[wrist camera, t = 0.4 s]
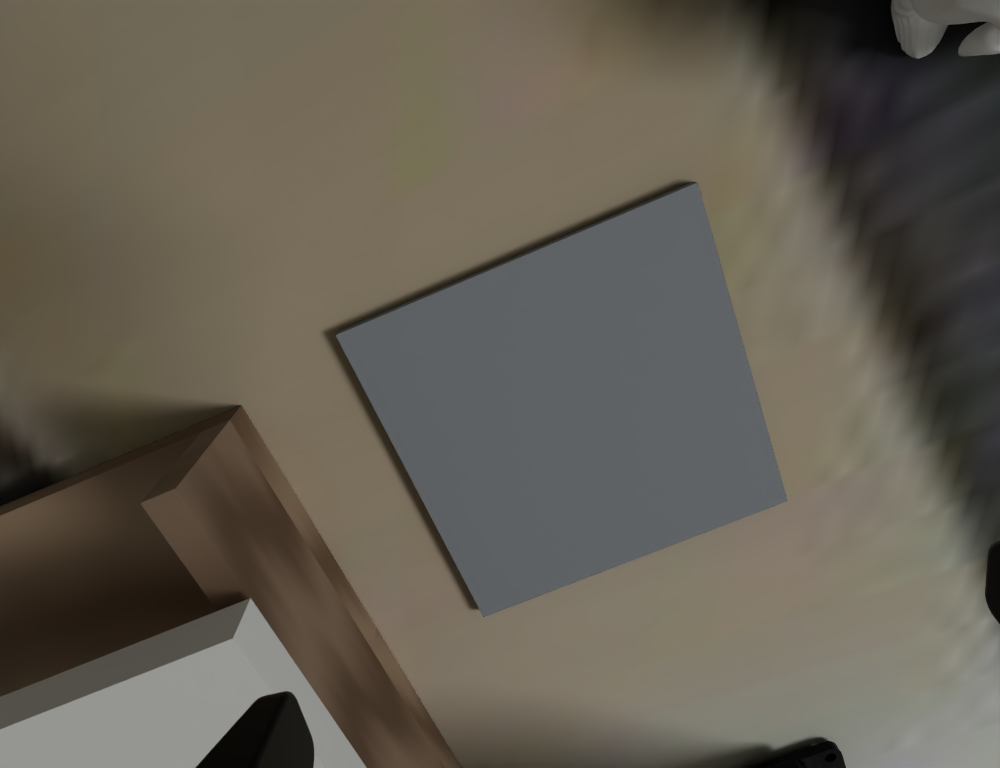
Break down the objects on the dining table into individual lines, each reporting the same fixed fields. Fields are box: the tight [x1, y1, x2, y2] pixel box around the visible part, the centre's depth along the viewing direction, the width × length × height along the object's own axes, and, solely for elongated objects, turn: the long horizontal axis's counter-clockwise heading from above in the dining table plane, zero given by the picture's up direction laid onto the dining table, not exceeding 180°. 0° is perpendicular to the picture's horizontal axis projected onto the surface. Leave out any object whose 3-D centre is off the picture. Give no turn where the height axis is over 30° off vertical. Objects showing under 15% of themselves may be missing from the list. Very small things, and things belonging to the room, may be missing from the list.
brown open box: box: [0, 406, 461, 768], centre depth 23 cm, size 20×16×6 cm
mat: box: [336, 182, 787, 617], centre depth 22 cm, size 12×12×1 cm
